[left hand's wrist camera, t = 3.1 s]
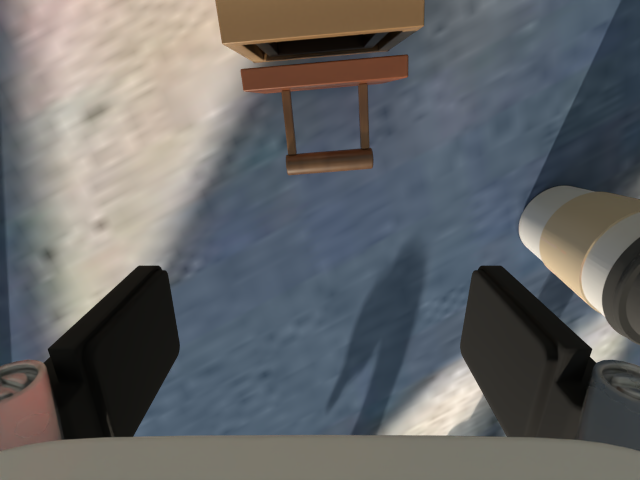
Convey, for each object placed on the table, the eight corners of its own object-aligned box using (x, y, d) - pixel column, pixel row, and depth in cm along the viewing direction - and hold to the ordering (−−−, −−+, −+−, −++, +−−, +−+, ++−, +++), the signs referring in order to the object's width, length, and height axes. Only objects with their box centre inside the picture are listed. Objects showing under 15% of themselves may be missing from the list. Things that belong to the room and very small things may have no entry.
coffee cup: (624, 210, 34) (836, 286, 20) (551, 280, 37) (694, 390, 23) (559, 153, 32) (744, 195, 18) (487, 231, 35) (600, 320, 21)
